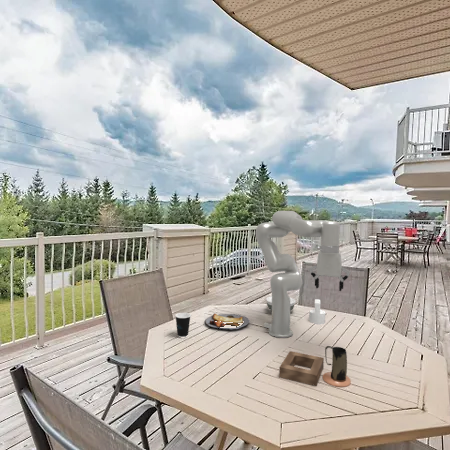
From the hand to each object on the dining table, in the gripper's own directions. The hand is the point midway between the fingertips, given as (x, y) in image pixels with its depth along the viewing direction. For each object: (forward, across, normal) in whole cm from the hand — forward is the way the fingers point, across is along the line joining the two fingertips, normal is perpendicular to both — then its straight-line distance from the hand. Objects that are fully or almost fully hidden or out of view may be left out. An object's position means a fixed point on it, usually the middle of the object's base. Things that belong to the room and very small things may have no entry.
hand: (328, 289), depth 139 cm
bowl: (+31, -36, +53) cm, 71 cm away
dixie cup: (+31, -69, -9) cm, 76 cm away
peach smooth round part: (+30, +6, -18) cm, 36 cm away
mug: (+30, +6, -18) cm, 35 cm away
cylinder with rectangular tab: (+31, -12, +46) cm, 57 cm away
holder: (+30, -7, -18) cm, 36 cm away
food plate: (+31, -57, +18) cm, 67 cm away
